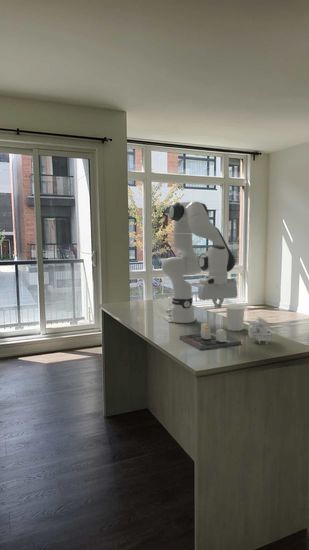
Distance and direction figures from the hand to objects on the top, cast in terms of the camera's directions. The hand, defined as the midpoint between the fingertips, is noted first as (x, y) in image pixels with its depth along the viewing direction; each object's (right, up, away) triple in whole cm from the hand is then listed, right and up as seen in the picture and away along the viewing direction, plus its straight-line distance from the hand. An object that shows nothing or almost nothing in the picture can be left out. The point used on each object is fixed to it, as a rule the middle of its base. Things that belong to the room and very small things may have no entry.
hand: (217, 307), depth 170 cm
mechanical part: (+20, -16, -2) cm, 26 cm away
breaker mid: (-6, -14, -1) cm, 16 cm away
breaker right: (0, -15, -6) cm, 16 cm away
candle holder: (+14, -14, +25) cm, 32 cm away
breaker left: (-5, -14, +7) cm, 16 cm away
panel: (-4, -16, 0) cm, 17 cm away
